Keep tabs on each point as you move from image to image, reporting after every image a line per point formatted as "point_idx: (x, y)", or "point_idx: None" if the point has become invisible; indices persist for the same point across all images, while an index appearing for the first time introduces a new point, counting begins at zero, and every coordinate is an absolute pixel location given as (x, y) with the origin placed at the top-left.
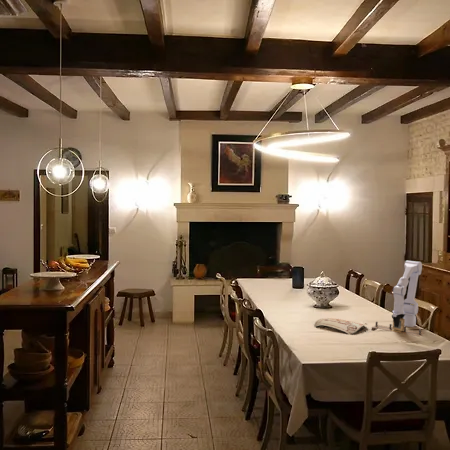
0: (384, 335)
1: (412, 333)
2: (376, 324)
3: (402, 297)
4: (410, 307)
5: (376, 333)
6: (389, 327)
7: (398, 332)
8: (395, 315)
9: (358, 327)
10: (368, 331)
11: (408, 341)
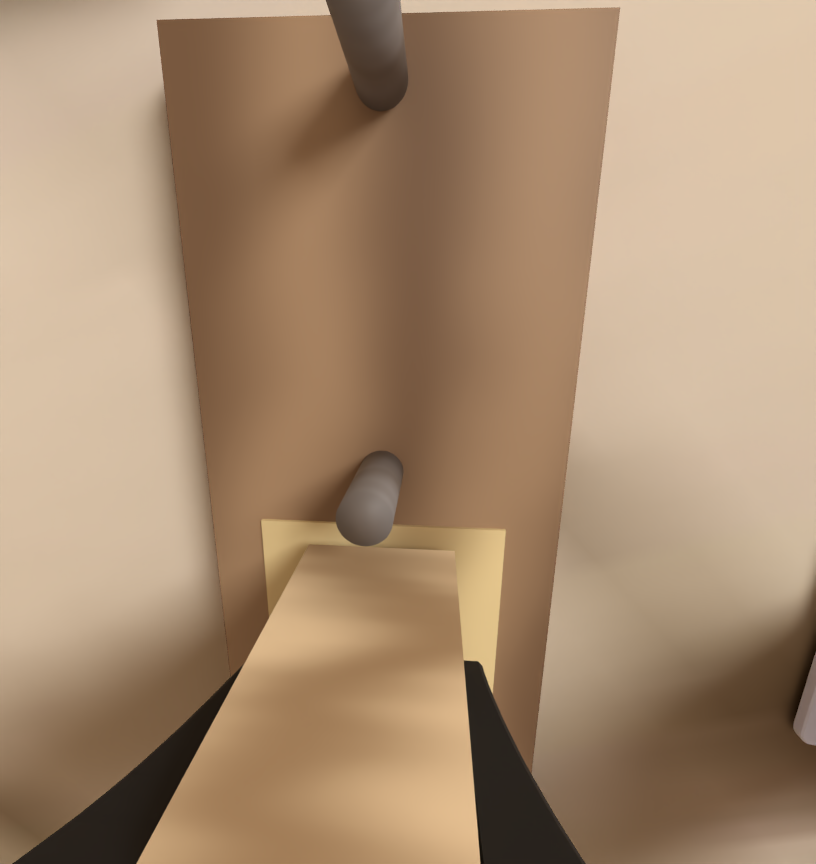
0: (21, 467)
1: None
2: (345, 51)
3: None
4: None
5: (13, 295)
6: (362, 465)
7: (231, 667)
8: None
9: None
10: (2, 72)
11: (38, 808)
